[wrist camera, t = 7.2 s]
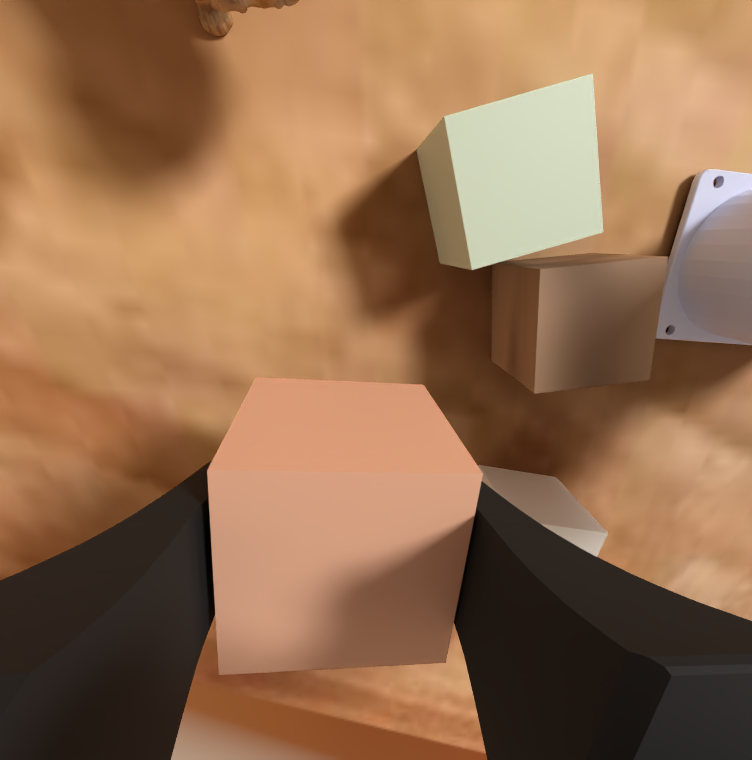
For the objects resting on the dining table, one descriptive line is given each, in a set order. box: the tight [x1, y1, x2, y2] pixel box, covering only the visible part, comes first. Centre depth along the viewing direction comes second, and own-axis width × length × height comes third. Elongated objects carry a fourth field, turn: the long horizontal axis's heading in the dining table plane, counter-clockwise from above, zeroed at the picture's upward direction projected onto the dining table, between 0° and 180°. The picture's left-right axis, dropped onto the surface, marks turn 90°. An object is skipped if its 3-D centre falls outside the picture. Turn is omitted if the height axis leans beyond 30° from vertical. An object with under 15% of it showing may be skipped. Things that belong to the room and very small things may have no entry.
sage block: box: [416, 73, 603, 270], centre depth 16 cm, size 5×5×5 cm
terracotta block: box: [207, 377, 483, 675], centre depth 10 cm, size 5×5×5 cm
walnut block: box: [491, 253, 668, 394], centre depth 18 cm, size 5×5×5 cm
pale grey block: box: [478, 465, 608, 557], centre depth 22 cm, size 5×5×5 cm
